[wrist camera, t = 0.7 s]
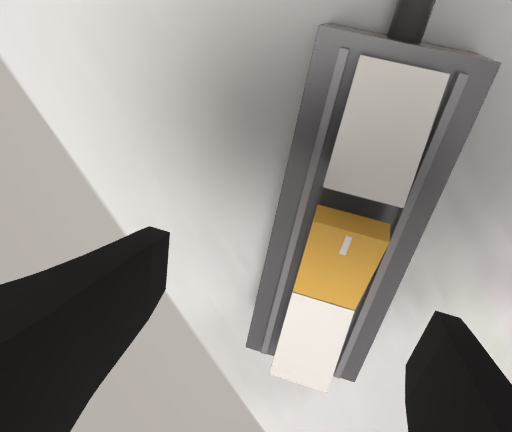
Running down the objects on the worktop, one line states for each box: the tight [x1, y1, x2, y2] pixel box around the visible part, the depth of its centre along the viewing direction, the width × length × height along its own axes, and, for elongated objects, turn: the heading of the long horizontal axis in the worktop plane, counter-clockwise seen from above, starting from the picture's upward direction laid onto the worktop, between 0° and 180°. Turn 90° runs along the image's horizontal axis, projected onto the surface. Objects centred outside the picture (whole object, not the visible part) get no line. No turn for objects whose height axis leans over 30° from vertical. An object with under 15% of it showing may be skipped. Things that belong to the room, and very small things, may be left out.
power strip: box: [246, 0, 501, 382], centre depth 17 cm, size 21×6×4 cm, turn 170°
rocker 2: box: [323, 55, 450, 208], centre depth 13 cm, size 4×3×1 cm, turn 170°
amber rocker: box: [293, 205, 390, 310], centre depth 16 cm, size 4×3×1 cm, turn 170°
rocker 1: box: [270, 284, 355, 393], centre depth 18 cm, size 4×3×1 cm, turn 170°
